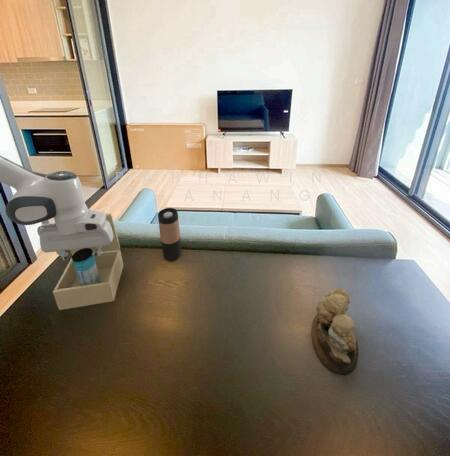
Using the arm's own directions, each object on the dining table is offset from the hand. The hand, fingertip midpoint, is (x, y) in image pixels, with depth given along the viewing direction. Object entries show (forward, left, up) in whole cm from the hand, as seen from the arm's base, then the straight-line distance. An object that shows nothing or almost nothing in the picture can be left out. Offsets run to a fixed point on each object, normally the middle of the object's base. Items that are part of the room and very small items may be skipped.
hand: (82, 257), depth 79 cm
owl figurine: (+72, -31, -15) cm, 80 cm away
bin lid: (0, +9, +2) cm, 9 cm away
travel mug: (+27, +12, -15) cm, 33 cm away
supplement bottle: (0, 0, -14) cm, 14 cm away
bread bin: (0, +2, -15) cm, 15 cm away
